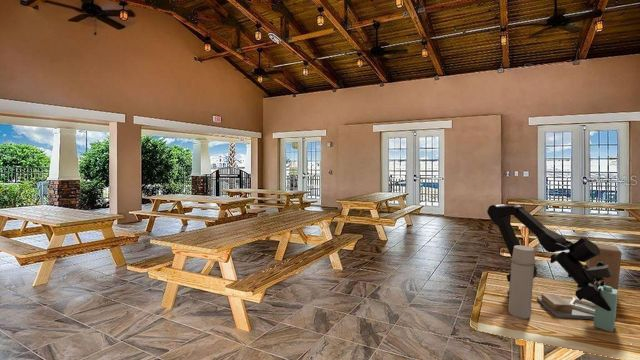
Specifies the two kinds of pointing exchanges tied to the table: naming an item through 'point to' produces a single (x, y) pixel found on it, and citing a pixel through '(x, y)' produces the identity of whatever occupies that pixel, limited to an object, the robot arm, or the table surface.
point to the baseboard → (575, 309)
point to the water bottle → (521, 281)
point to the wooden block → (608, 263)
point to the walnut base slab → (556, 302)
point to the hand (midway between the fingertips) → (611, 307)
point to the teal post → (603, 316)
